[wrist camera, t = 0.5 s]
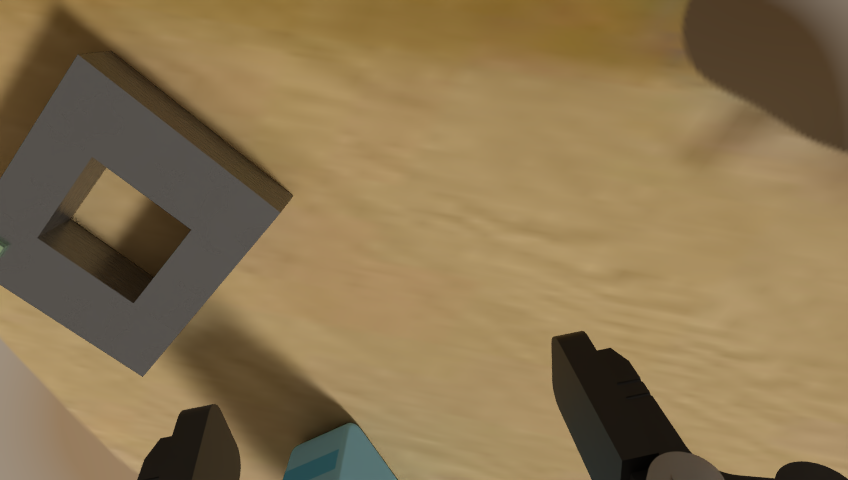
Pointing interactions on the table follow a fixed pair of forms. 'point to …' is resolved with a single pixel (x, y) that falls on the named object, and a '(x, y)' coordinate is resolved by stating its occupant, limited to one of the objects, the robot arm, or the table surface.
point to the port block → (152, 176)
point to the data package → (337, 458)
